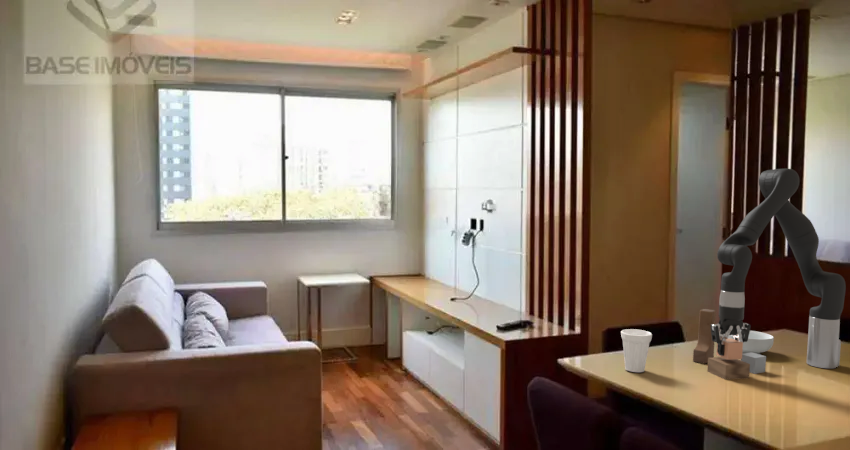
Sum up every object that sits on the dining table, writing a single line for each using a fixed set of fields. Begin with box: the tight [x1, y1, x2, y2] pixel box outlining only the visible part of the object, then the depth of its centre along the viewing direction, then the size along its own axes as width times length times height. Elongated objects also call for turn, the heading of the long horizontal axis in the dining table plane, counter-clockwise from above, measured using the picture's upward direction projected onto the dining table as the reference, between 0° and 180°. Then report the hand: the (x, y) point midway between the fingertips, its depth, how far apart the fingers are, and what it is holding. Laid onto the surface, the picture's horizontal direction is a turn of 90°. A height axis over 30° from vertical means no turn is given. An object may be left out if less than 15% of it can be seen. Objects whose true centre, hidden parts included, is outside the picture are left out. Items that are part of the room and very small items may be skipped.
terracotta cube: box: [715, 338, 743, 360], centre depth 215 cm, size 6×6×6 cm
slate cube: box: [740, 352, 767, 375], centre depth 221 cm, size 6×6×6 cm
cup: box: [620, 328, 653, 373], centre depth 218 cm, size 10×10×13 cm
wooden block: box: [692, 308, 717, 365], centre depth 232 cm, size 9×4×18 cm, turn 139°
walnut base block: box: [706, 356, 750, 380], centre depth 216 cm, size 9×9×5 cm
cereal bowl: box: [723, 329, 775, 355], centre depth 246 cm, size 17×17×7 cm
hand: (729, 354), depth 215 cm, fingers closed on terracotta cube, 5 cm apart
